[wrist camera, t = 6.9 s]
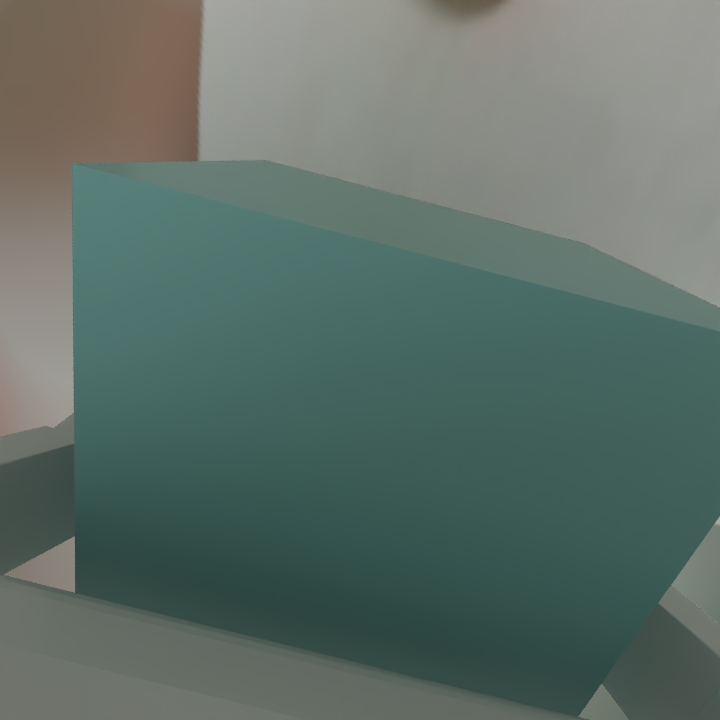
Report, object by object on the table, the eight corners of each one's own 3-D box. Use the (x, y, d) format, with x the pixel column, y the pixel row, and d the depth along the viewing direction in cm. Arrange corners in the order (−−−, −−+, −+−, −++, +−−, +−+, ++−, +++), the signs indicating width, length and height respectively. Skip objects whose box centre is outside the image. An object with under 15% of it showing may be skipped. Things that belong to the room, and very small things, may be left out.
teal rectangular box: (265, 160, 10) (71, 164, 4) (584, 243, 10) (830, 361, 4) (211, 530, 14) (77, 790, 8) (437, 586, 14) (461, 882, 8)
